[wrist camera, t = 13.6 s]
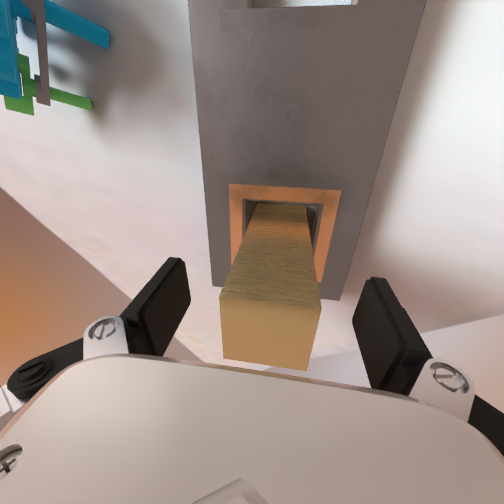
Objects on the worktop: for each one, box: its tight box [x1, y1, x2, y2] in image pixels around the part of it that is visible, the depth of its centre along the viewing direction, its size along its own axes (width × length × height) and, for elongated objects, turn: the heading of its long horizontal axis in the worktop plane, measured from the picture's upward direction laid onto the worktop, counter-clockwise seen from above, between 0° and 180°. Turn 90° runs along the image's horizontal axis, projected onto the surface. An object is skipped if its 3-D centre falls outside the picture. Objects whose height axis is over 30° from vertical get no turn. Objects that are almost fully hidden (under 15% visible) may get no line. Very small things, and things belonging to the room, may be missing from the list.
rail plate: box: [188, 0, 426, 301], centre depth 15 cm, size 28×12×2 cm, turn 179°
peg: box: [219, 203, 322, 371], centre depth 15 cm, size 4×4×12 cm
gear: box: [0, 0, 109, 116], centre depth 13 cm, size 11×6×10 cm
